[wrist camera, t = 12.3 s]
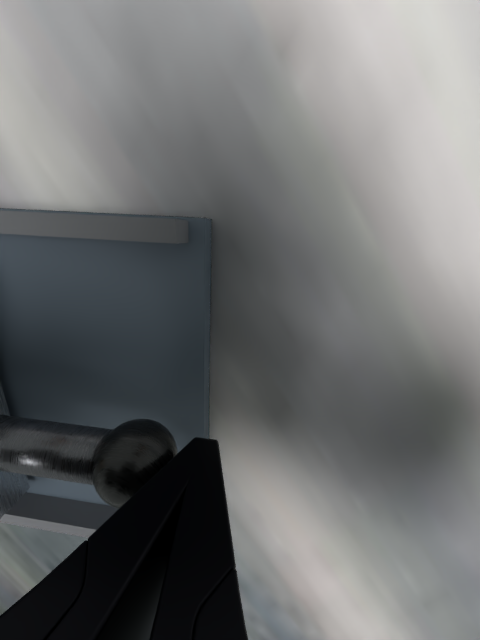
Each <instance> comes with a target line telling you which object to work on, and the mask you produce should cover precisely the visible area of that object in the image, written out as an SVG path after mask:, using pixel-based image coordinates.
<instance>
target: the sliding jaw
mask: <svg viewBox="0 0 480 640" xmlns="http://www.w3.org/2000/svg"><path fill="white" fill-rule="evenodd" d="M177 453H178V452H177V446H176V442H175V440H174V437H173V436H172V434H171V433H170V431H169V430H168V429H167V428H166V427H165V426H164V425H162V424H161V423H159V422H157V421H154V420H151V419H134V420H130V421H127V422H124V423H122V424H121V425H119V426H117V427H116V428H114V429H106V428H98V427H91V426H83V425H76V424H68V423H60V422H53V421H45V420H38V419H30V418H23V417H15V416H10V413H9V409H8V406H7V402H6V399H5V395H4V391H3V388H2V384H1V381H0V519H1V518H2V517H3V515H4V514H5V513H6V512H7V511H8V510H9V509H10V508H11V507H12V506H13V505H14V504H15V503H16V502H17V501H18V500H19V499H20V498H21V497H22V496H23V495H24V494H25V493H26V491H27V490H28V489H29V488H30V485H29V481H28V478H27V475H31V476H37V477H43V478H50V479H56V480H63V481H69V482H76V483H82V484H89V485H94V487H95V490H96V492H97V494H98V495H99V496H100V498H101V499H102V500H103V501H104V502H105V503H107V504H108V505H110V506H112V507H114V508H118V509H119V508H120V507H121V506H122V505H123V504H124V503H126V502H127V501H128V500H129V499H130V498H131V497H132V496H133V495H134V494H135V493H136V492H137V491H138V490H139V489H140V488H141V487H142V486H144V485H145V484H146V483H147V482H148V481H149V480H150V479H151V478H152V477H153V476H154V475H155V474H156V473H157V472H158V471H159V470H160V469H162V468H163V467H164V466H165V465H166V464H167V463H168V462H169V461H170V460H171V459H172V458H173V457H174V456H175V455H176V454H177Z"/></svg>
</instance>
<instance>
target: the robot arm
mask: <svg viewBox="0 0 480 640" xmlns="http://www.w3.org/2000/svg"><path fill="white" fill-rule="evenodd" d="M235 568H236V564H235V557H234V550H233V543H232V536H231V529H230V522H229V515H228V508H227V501H226V494H225V487H224V480H223V472H222V465H221V458H220V451H219V444H218V441H217V440H214V439H207V438H200V437H195V438H193V439H192V440H191V441H190V442H189V443H188V444H187V445H186V446H185V447H184V448H183V449H182V450H181V451H180V452H178V453H177V454H176V455H175V456H174V457H173V458H172V459H171V460H170V461H169V462H168V463H167V464H166V465H165V466H164V467H163V468H162V469H160V470H159V471H158V472H157V473H156V474H155V475H154V476H153V477H152V478H151V479H150V480H149V481H148V482H147V483H146V484H145V485H144V486H142V487H141V488H140V489H139V490H138V491H137V492H136V493H135V494H134V495H133V496H132V497H131V498H130V499H129V500H128V501H127V502H126V503H124V504H123V505H122V506H121V507H120V508H119V509H118V510H117V511H116V512H115V513H114V514H113V515H112V516H111V517H110V518H109V519H108V520H106V521H105V522H104V523H103V524H102V525H101V526H100V527H99V528H98V529H97V530H96V531H95V532H94V533H93V534H92V535H91V536H90V537H89V538H88V541H84V542H83V543H82V544H81V545H80V546H79V547H78V548H77V549H76V550H75V551H73V552H72V553H71V554H70V555H69V556H68V557H67V558H66V559H65V560H64V561H63V562H62V563H60V564H59V565H58V566H57V567H56V568H55V569H54V570H53V571H52V572H51V573H49V574H48V575H47V576H46V577H45V578H44V579H43V580H42V581H41V582H40V583H38V584H37V585H36V586H35V587H34V588H32V589H31V590H30V591H29V592H28V593H27V594H25V595H24V596H23V597H22V598H21V599H20V600H18V601H17V602H16V603H15V604H14V605H12V606H11V607H10V608H9V609H8V610H7V611H5V612H4V613H3V614H2V615H1V616H0V640H248V637H247V632H246V627H245V621H244V615H243V610H242V604H241V598H240V592H239V584H238V577H237V571H236V569H235Z"/></svg>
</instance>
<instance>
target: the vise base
mask: <svg viewBox="0 0 480 640" xmlns="http://www.w3.org/2000/svg"><path fill="white" fill-rule="evenodd" d="M211 223H212V219H207V218H195V217H174V216H153V215H131V214H110V213H89V212H68V211H46V210H25V209H4V208H0V381H1V384H2V388H3V391H4V395H5V399H6V402H7V406H8V409H9V413H10V416H15V417H23V418H30V419H38V420H45V421H53V422H60V423H68V424H76V425H83V426H91V427H98V428H106V429H114V428H116V427H117V426H119V425H121V424H122V423H124V422H127V421H130V420H134V419H151V420H154V421H157V422H159V423H161V424H162V425H164V426H165V427H166V428H167V429H168V430H169V431H170V433H171V434H172V436H173V437H174V440H175V442H176V446H177V452H180V451H181V450H182V449H183V448H184V447H185V446H186V445H187V444H188V443H189V442H190V441H191V440H192V439H193V438H195V437H200V438H207V439H209V370H210V297H211ZM27 478H28V481H29V485H30V488H29V489H28V490H27V491H26V493H25V494H24V495H23V496H22V497H21V498H20V499H19V500H18V501H17V502H16V503H15V504H14V505H13V506H12V507H11V508H10V509H9V510H8V511H7V512H6V513H5V514H4V515H3V517H2V518H1V519H0V522H2V523H7V524H13V525H19V526H24V527H30V528H36V529H41V530H47V531H53V532H58V533H64V534H70V535H75V536H81V537H87V538H89V537H90V536H91V535H92V534H93V533H94V532H95V531H96V530H97V529H98V528H99V527H100V526H101V525H102V524H103V523H104V522H105V521H106V520H108V519H109V518H110V517H111V516H112V515H113V514H114V513H115V512H116V511H117V510H118V508H114V507H112V506H110V505H108V504H107V503H105V502H104V501H103V500H102V499H101V498H100V496H99V495H98V494H97V492H96V490H95V487H94V485H89V484H82V483H76V482H69V481H63V480H56V479H50V478H43V477H37V476H31V475H27Z"/></svg>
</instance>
